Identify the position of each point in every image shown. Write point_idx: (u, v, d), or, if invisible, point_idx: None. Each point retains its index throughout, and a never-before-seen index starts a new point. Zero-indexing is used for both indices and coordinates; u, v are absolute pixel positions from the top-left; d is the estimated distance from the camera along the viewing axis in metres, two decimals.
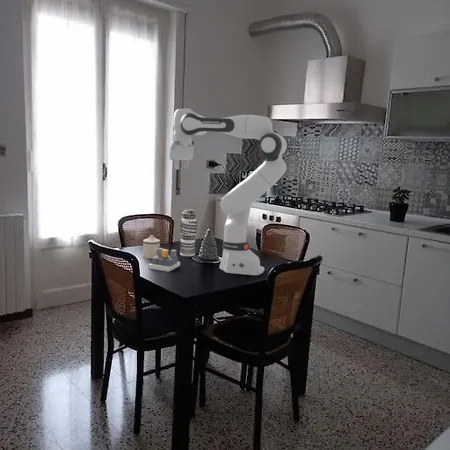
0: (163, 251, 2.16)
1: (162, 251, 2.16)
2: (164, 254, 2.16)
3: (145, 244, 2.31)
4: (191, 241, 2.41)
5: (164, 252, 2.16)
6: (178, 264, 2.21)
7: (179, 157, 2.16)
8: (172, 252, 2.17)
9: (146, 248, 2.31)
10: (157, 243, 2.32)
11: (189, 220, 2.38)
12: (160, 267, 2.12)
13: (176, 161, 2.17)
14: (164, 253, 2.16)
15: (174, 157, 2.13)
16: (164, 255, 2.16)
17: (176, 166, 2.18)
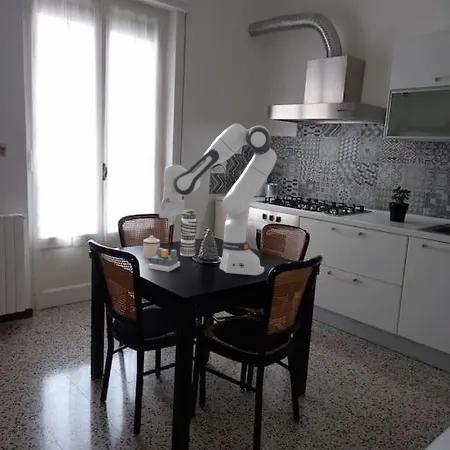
0: (163, 251, 2.16)
1: (162, 251, 2.16)
2: (164, 254, 2.16)
3: (145, 244, 2.31)
4: (191, 241, 2.41)
5: (164, 252, 2.16)
6: (178, 264, 2.21)
7: (168, 215, 2.13)
8: (172, 252, 2.17)
9: (146, 248, 2.31)
10: (157, 243, 2.32)
11: (189, 220, 2.38)
12: (160, 267, 2.12)
13: (170, 217, 2.17)
14: (164, 253, 2.16)
15: (164, 215, 2.10)
16: (164, 255, 2.16)
17: (170, 222, 2.19)
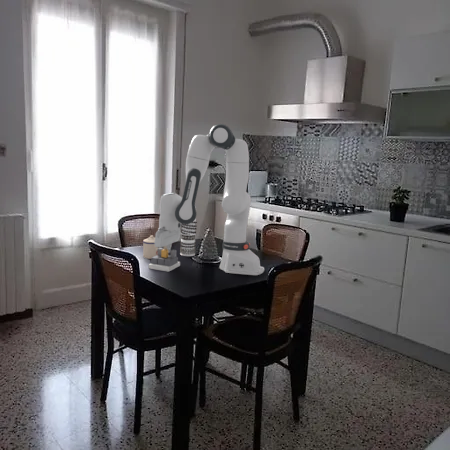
0: (163, 251, 2.16)
1: (162, 251, 2.16)
2: (164, 254, 2.16)
3: (145, 244, 2.31)
4: (191, 241, 2.41)
5: (164, 252, 2.16)
6: (178, 264, 2.21)
7: (164, 244, 2.12)
8: (172, 252, 2.17)
9: (146, 248, 2.31)
10: None
11: None
12: (160, 267, 2.12)
13: (165, 246, 2.17)
14: (164, 253, 2.16)
15: (159, 245, 2.09)
16: (164, 255, 2.16)
17: None
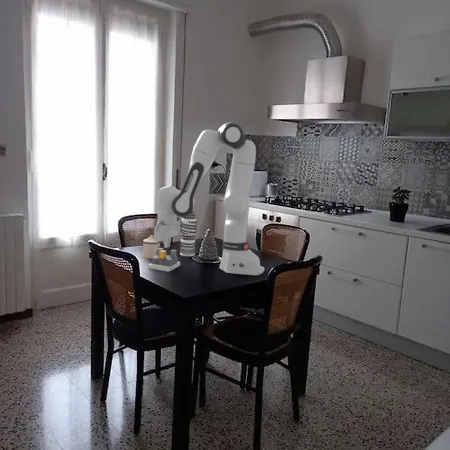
0: (161, 252, 2.14)
1: (160, 252, 2.14)
2: (162, 255, 2.14)
3: (145, 244, 2.31)
4: (191, 241, 2.41)
5: (162, 253, 2.13)
6: (178, 264, 2.21)
7: (163, 238, 2.09)
8: (172, 252, 2.17)
9: (146, 248, 2.31)
10: (157, 243, 2.32)
11: (189, 220, 2.38)
12: (160, 267, 2.12)
13: (165, 240, 2.14)
14: (162, 254, 2.14)
15: (158, 239, 2.06)
16: (162, 256, 2.14)
17: (165, 244, 2.15)
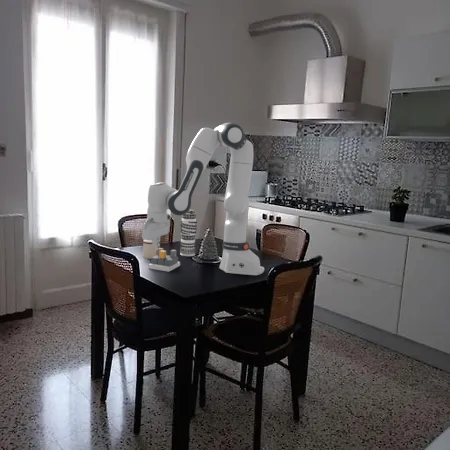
0: (161, 252, 2.14)
1: (160, 252, 2.14)
2: (162, 255, 2.14)
3: (145, 244, 2.31)
4: (191, 241, 2.41)
5: (162, 253, 2.13)
6: (178, 264, 2.21)
7: (152, 236, 2.00)
8: (172, 252, 2.17)
9: (146, 248, 2.31)
10: None
11: (189, 220, 2.38)
12: (160, 267, 2.12)
13: (154, 238, 2.05)
14: (162, 254, 2.14)
15: (147, 237, 1.97)
16: (162, 256, 2.14)
17: (154, 243, 2.06)
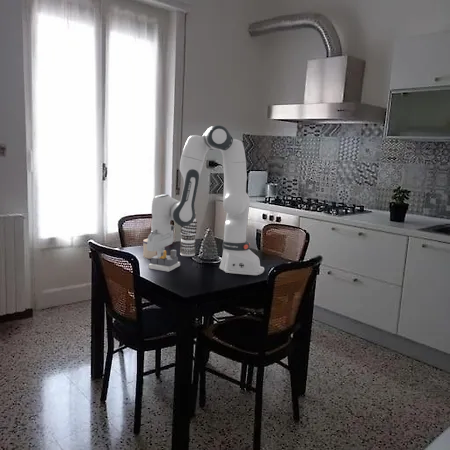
0: None
1: None
2: None
3: (145, 244, 2.31)
4: (191, 241, 2.41)
5: None
6: (178, 264, 2.21)
7: (157, 247, 2.05)
8: (172, 252, 2.17)
9: (146, 248, 2.31)
10: None
11: None
12: (160, 267, 2.12)
13: (158, 249, 2.09)
14: None
15: (152, 249, 2.02)
16: (162, 256, 2.14)
17: (158, 254, 2.11)
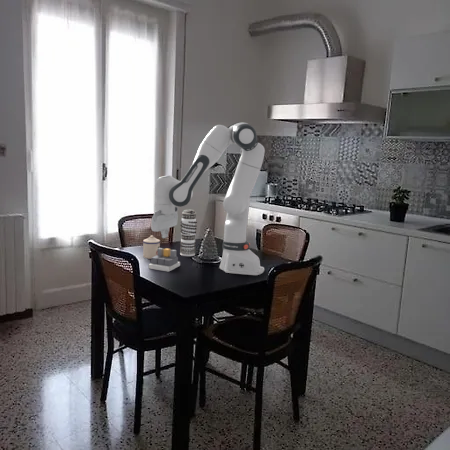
0: (165, 250, 2.18)
1: (164, 250, 2.18)
2: (166, 253, 2.18)
3: (145, 244, 2.31)
4: (191, 241, 2.41)
5: (166, 251, 2.18)
6: (178, 264, 2.21)
7: (161, 228, 2.07)
8: (172, 252, 2.17)
9: (146, 248, 2.31)
10: (157, 243, 2.32)
11: (189, 220, 2.38)
12: (160, 267, 2.12)
13: (163, 230, 2.11)
14: (166, 252, 2.18)
15: (156, 229, 2.04)
16: (166, 254, 2.18)
17: (163, 235, 2.13)
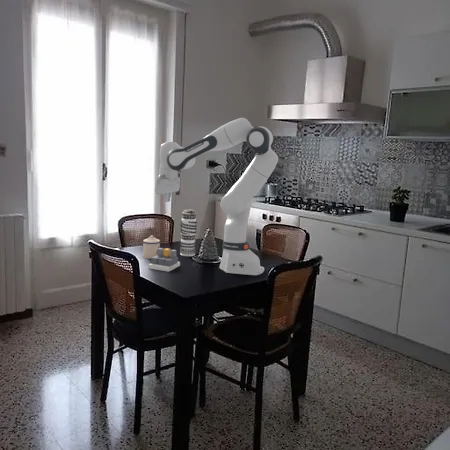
0: (165, 250, 2.18)
1: (164, 250, 2.18)
2: (166, 253, 2.18)
3: (145, 244, 2.31)
4: (191, 241, 2.41)
5: (166, 251, 2.18)
6: (178, 264, 2.21)
7: (164, 191, 2.17)
8: (172, 252, 2.17)
9: (146, 248, 2.31)
10: (157, 243, 2.32)
11: (189, 220, 2.38)
12: (160, 267, 2.12)
13: (166, 194, 2.21)
14: (166, 252, 2.18)
15: (159, 191, 2.14)
16: (166, 254, 2.18)
17: (166, 199, 2.23)
